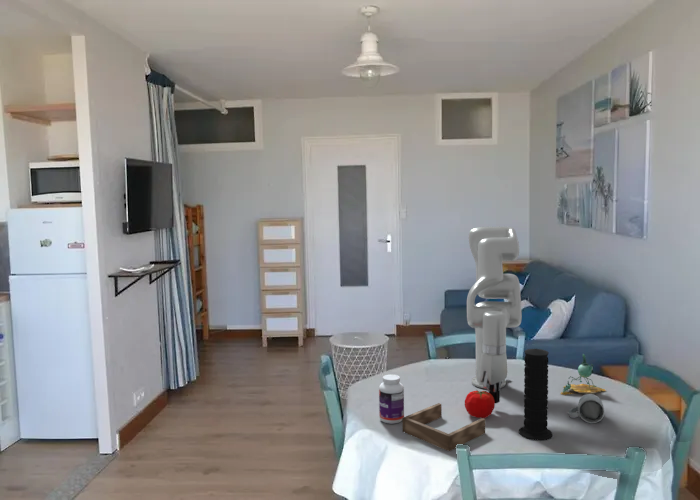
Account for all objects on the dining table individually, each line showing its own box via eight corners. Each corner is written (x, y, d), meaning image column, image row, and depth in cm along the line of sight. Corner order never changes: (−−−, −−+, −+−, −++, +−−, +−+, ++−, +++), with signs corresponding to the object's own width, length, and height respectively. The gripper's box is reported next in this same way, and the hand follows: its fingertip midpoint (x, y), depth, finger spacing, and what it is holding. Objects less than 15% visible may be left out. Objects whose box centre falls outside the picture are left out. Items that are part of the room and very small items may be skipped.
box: (438, 416, 190) (438, 403, 189) (485, 433, 176) (485, 419, 176) (402, 431, 179) (402, 417, 178) (449, 451, 165) (449, 436, 164)
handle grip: (544, 425, 181) (513, 427, 180) (545, 343, 178) (513, 344, 177) (558, 439, 171) (525, 441, 170) (560, 352, 168) (526, 354, 167)
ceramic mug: (602, 414, 188) (602, 391, 187) (604, 424, 180) (604, 400, 179) (567, 411, 191) (567, 389, 191) (568, 421, 184) (568, 398, 183)
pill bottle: (375, 417, 190) (374, 375, 189) (397, 413, 193) (396, 371, 192) (386, 426, 183) (385, 382, 181) (408, 422, 186) (407, 379, 184)
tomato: (459, 416, 189) (459, 391, 189) (477, 407, 196) (477, 383, 195) (483, 424, 183) (483, 398, 182) (501, 415, 190) (501, 390, 189)
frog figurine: (551, 387, 214) (556, 348, 212) (599, 391, 214) (603, 352, 213) (562, 397, 204) (567, 356, 203) (611, 400, 205) (617, 359, 204)
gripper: (497, 342, 200) (497, 393, 202) (471, 351, 190) (471, 404, 192) (516, 346, 194) (516, 398, 196) (490, 355, 184) (490, 410, 186)
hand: (494, 401), depth 194 cm, fingers closed
